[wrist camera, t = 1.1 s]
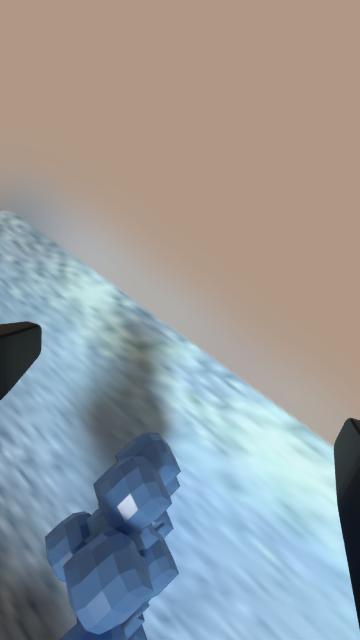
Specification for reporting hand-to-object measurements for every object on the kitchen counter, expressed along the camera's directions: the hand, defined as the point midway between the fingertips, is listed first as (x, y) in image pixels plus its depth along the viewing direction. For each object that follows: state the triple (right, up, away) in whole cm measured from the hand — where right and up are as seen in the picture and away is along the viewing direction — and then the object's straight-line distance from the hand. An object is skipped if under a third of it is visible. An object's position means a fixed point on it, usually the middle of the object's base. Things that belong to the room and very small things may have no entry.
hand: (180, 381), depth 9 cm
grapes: (-3, -11, +12) cm, 17 cm away
